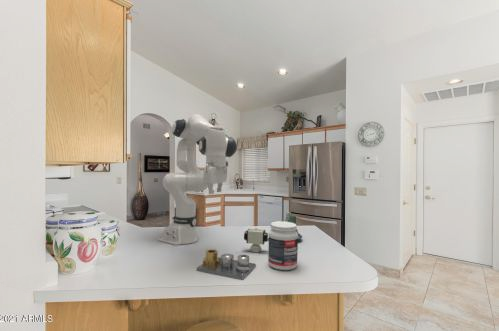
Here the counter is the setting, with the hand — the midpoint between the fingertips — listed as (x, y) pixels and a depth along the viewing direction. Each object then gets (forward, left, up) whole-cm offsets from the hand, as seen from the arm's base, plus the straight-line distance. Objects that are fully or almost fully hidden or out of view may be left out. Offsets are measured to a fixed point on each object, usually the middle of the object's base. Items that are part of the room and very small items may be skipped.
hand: (215, 193), depth 116 cm
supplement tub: (+30, +8, -31) cm, 44 cm away
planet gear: (+1, -5, -30) cm, 30 cm away
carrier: (+9, -5, -31) cm, 33 cm away
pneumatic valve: (+13, +20, -31) cm, 39 cm away
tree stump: (+22, +46, -32) cm, 60 cm away
